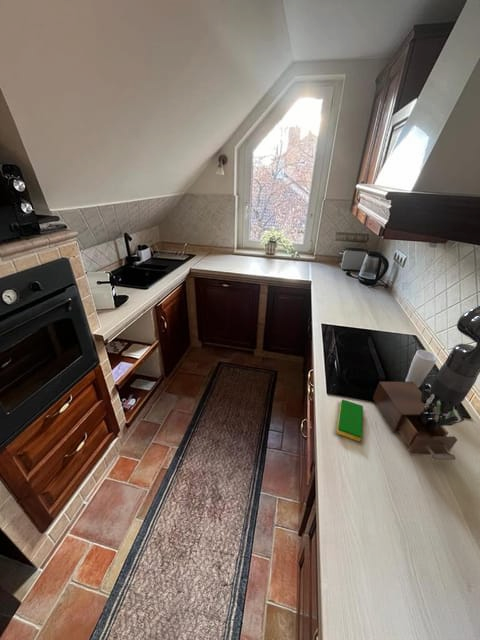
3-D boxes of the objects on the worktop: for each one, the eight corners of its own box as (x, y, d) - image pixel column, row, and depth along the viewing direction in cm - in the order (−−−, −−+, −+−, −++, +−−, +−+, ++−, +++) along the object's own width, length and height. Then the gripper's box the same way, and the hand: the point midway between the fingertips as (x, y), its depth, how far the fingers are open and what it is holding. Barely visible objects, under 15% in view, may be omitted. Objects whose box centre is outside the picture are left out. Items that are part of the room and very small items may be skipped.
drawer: (458, 468, 73) (469, 453, 70) (419, 468, 73) (428, 454, 69) (419, 417, 88) (427, 403, 85) (387, 417, 88) (393, 403, 85)
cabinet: (430, 432, 84) (441, 414, 80) (392, 432, 84) (401, 414, 80) (404, 398, 97) (412, 381, 93) (372, 398, 97) (379, 381, 92)
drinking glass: (425, 391, 100) (440, 361, 93) (406, 388, 101) (421, 359, 94) (417, 379, 106) (431, 350, 99) (400, 377, 107) (413, 348, 100)
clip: (433, 418, 78) (437, 411, 77) (440, 427, 76) (444, 419, 74) (417, 418, 78) (421, 411, 76) (423, 427, 76) (428, 420, 74)
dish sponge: (361, 410, 91) (363, 405, 90) (359, 442, 80) (361, 437, 79) (340, 403, 94) (342, 399, 93) (336, 433, 83) (338, 428, 82)
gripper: (490, 400, 62) (458, 444, 71) (448, 363, 74) (425, 404, 83) (460, 400, 62) (432, 444, 71) (423, 363, 74) (403, 404, 83)
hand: (428, 422), depth 77 cm, fingers closed on clip, 3 cm apart
